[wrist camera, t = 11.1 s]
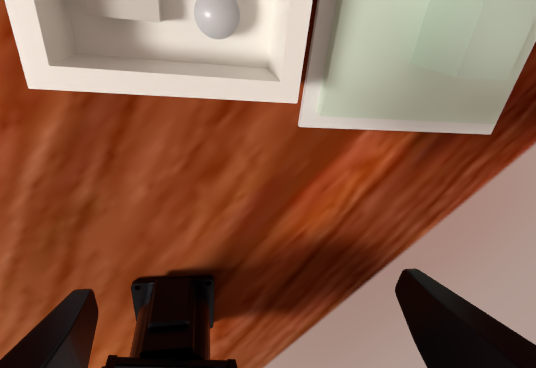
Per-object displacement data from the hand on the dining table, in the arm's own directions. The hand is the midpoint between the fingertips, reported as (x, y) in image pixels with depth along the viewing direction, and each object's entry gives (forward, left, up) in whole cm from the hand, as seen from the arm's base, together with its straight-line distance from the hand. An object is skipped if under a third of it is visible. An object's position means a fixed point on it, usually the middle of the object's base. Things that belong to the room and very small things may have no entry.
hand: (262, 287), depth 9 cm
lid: (+8, -12, -13) cm, 19 cm away
